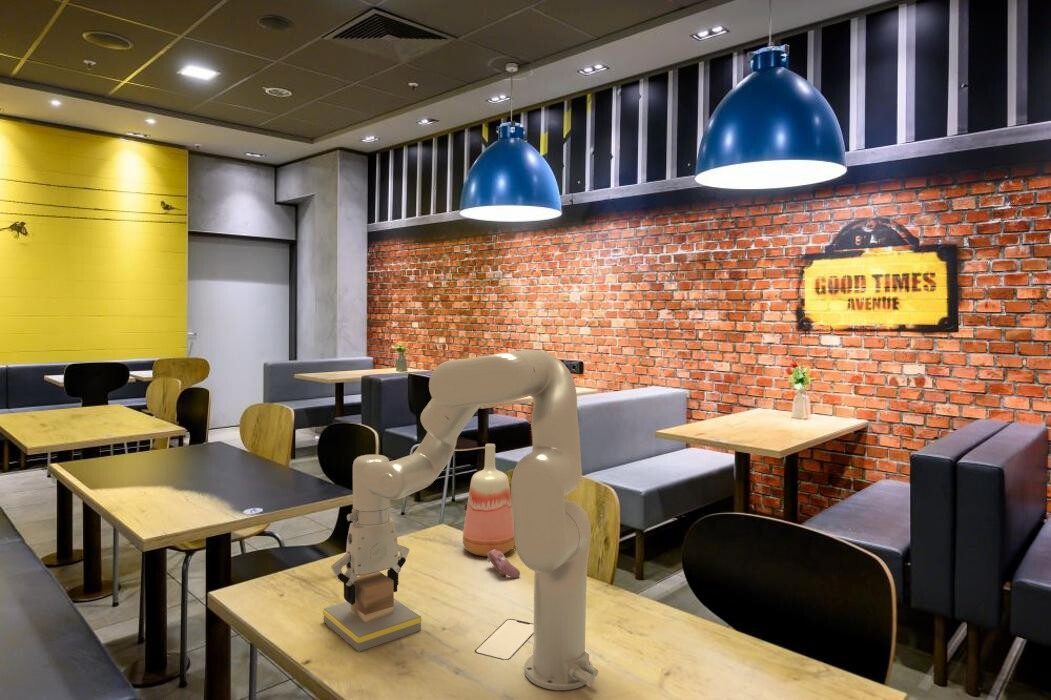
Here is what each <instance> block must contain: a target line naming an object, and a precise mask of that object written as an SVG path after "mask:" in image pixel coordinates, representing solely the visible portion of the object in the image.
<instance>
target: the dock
mask: <svg viewBox="0 0 1051 700" xmlns="http://www.w3.org/2000/svg"><path fill="white" fill-rule="evenodd" d="M322 615H323V623H324V622H325V623H326V624H327V625H326V624H325V623H324V624H325V625H326V626H328V627H329V629H331V630H332V629H333V630H334V633H336V635H338V636H339V635H340V636H339V637H340V638H341V639H342V640H344V641H345V642H346V643H347V644H348V645H350V646H351V647H352V648H354V649H355V650H356V651H357V652H362V651H366V650H367V649H370V648H374V647H376V646H379V645H382V644H386V643H388V642H391V641H394V640H397V639H400V638H403V637H406V636H408V635H412V634H415V633H418V632H420V631H421V630H422V616H421V615H420V614H418V613H416V612H415V611H414V610H412V609H410V608H409V607H408V606H406V605H404V604H403V603H401V602H400V601H399V600H397V599H396V598H394V613H393V614H390V615H387V616H384V617H381V618H377V619H374V620H371V621H368V622H364V621H363V620H361V619H360V618H359V617H357V616H356V615H355V614H354V613H352V612H351V604H350V603H349V602H347V601H344V602H342V603H341V602H340V603H337V604H335V605H331V606H328V607H324V608H323V609H322ZM333 630H332V631H333Z"/></svg>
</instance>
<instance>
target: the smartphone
mask: <svg viewBox="0 0 1051 700" xmlns="http://www.w3.org/2000/svg"><path fill="white" fill-rule="evenodd" d="M532 636H534V622H532V623H531V622H528V621H523V620H519V619H513V618H507V619H506V620H505V621H503V622H502V624H500V625H499V626H498V628H496V629H495V630H494V631H493V632H492V633H491V634H490V635H489V636H488V637H487V638H486V639H485V640H484V641H483V642H482V643H481V644H480V645H478V647H477V648H476V649H475V650H474V653H475V654H477V655H483V656H485V657H489V658H494V659H497V660H501V661H509V660H511V659H512V658H513V657H514V656H515V655H516V653H518V651H519V650H521V648H522V647H523V646H524V645H526V643H527V642H528V641H529V639H531V638H532Z"/></svg>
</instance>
